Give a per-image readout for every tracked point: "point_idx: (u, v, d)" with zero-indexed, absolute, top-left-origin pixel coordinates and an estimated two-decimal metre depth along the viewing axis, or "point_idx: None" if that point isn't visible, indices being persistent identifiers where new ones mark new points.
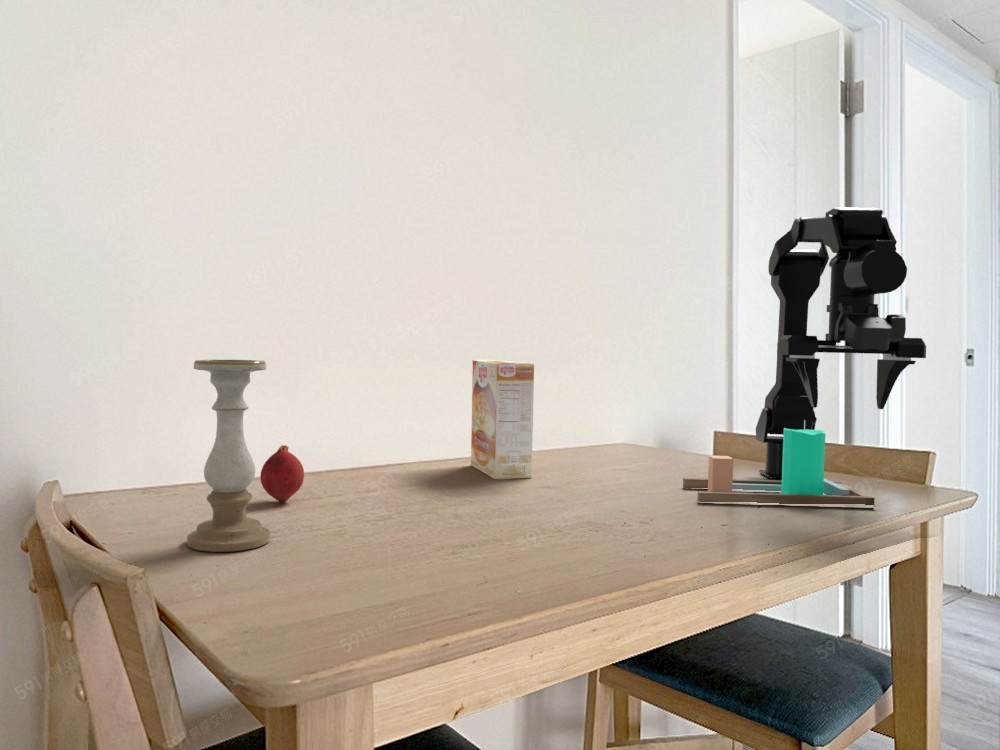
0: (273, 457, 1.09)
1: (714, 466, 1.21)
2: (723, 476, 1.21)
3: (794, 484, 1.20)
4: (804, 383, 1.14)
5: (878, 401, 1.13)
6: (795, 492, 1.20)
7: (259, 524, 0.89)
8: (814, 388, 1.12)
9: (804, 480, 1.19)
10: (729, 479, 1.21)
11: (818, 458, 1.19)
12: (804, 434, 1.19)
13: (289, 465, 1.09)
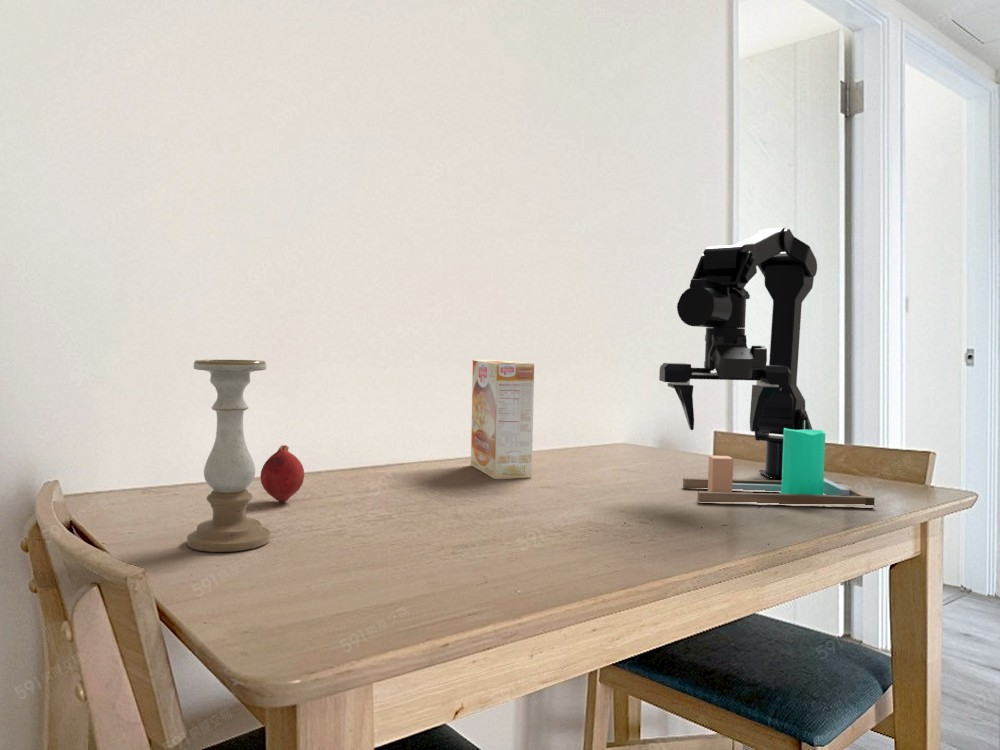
0: (273, 457, 1.09)
1: (714, 466, 1.21)
2: (723, 476, 1.21)
3: (794, 484, 1.20)
4: (683, 407, 1.23)
5: (750, 424, 1.22)
6: (795, 492, 1.20)
7: (259, 524, 0.89)
8: (690, 412, 1.21)
9: (804, 480, 1.19)
10: (729, 479, 1.21)
11: (818, 458, 1.19)
12: (804, 434, 1.19)
13: (289, 465, 1.09)
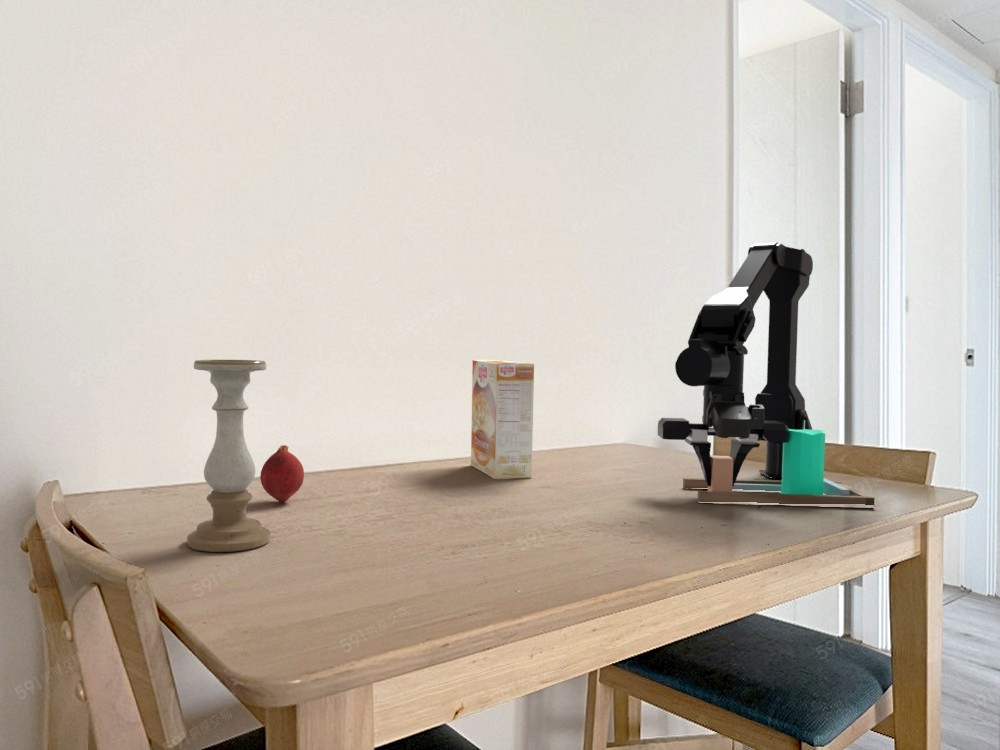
0: (273, 457, 1.09)
1: (714, 466, 1.21)
2: (723, 476, 1.21)
3: (794, 484, 1.20)
4: (700, 463, 1.23)
5: None
6: (795, 492, 1.20)
7: (259, 524, 0.89)
8: (708, 469, 1.21)
9: (804, 480, 1.19)
10: (729, 479, 1.21)
11: (818, 458, 1.19)
12: (804, 434, 1.19)
13: (289, 464, 1.09)
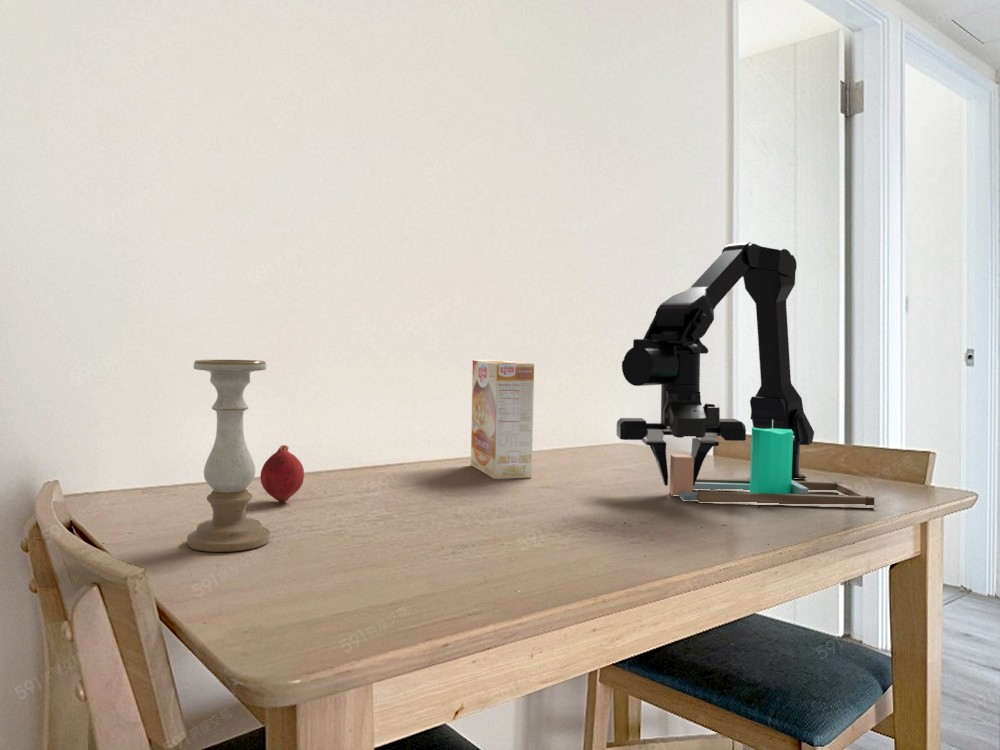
0: (273, 457, 1.09)
1: (675, 465, 1.21)
2: (683, 475, 1.21)
3: (763, 484, 1.20)
4: (657, 462, 1.24)
5: None
6: (764, 491, 1.19)
7: (259, 524, 0.89)
8: (664, 468, 1.22)
9: (773, 479, 1.19)
10: (690, 478, 1.21)
11: (786, 457, 1.19)
12: (773, 433, 1.19)
13: (289, 465, 1.09)
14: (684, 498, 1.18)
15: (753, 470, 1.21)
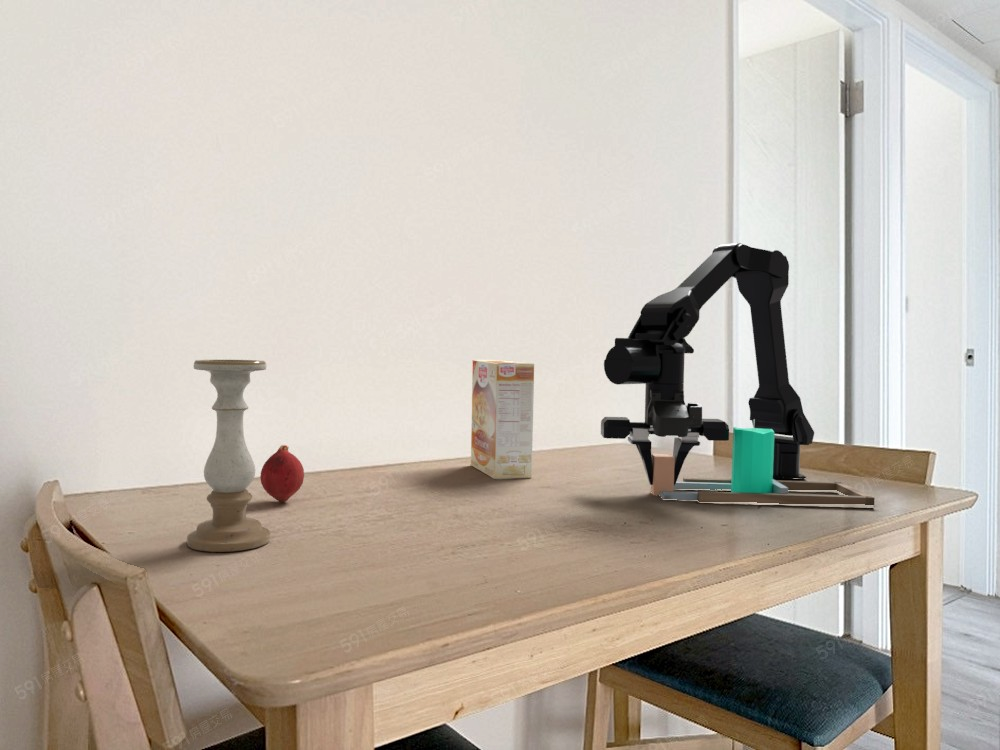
0: (273, 457, 1.09)
1: (655, 464, 1.21)
2: (664, 475, 1.21)
3: (745, 484, 1.19)
4: (643, 461, 1.24)
5: None
6: (746, 491, 1.19)
7: (259, 524, 0.89)
8: (649, 467, 1.22)
9: (755, 479, 1.19)
10: (670, 477, 1.21)
11: (768, 456, 1.19)
12: (755, 433, 1.19)
13: (289, 465, 1.09)
14: (664, 497, 1.18)
15: (735, 470, 1.21)
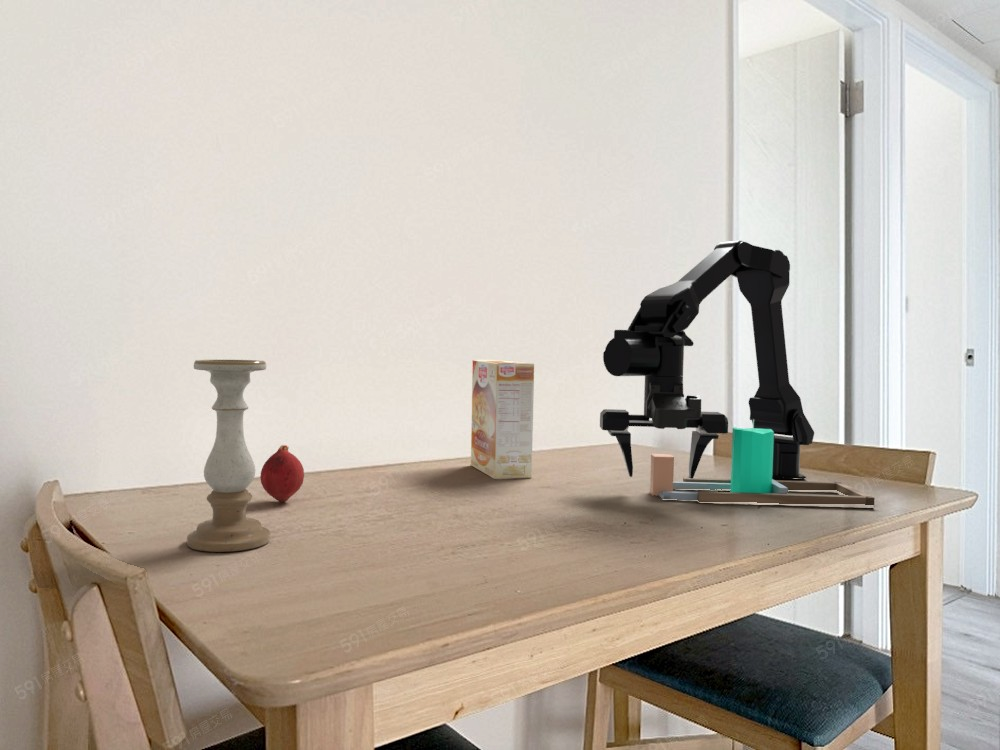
0: (273, 457, 1.09)
1: (655, 464, 1.21)
2: (663, 475, 1.21)
3: (745, 484, 1.19)
4: None
5: (689, 471, 1.23)
6: (746, 491, 1.19)
7: (259, 524, 0.89)
8: (629, 459, 1.22)
9: (755, 479, 1.19)
10: (670, 477, 1.21)
11: (768, 456, 1.19)
12: (755, 433, 1.19)
13: (289, 465, 1.09)
14: (664, 497, 1.18)
15: (734, 470, 1.21)
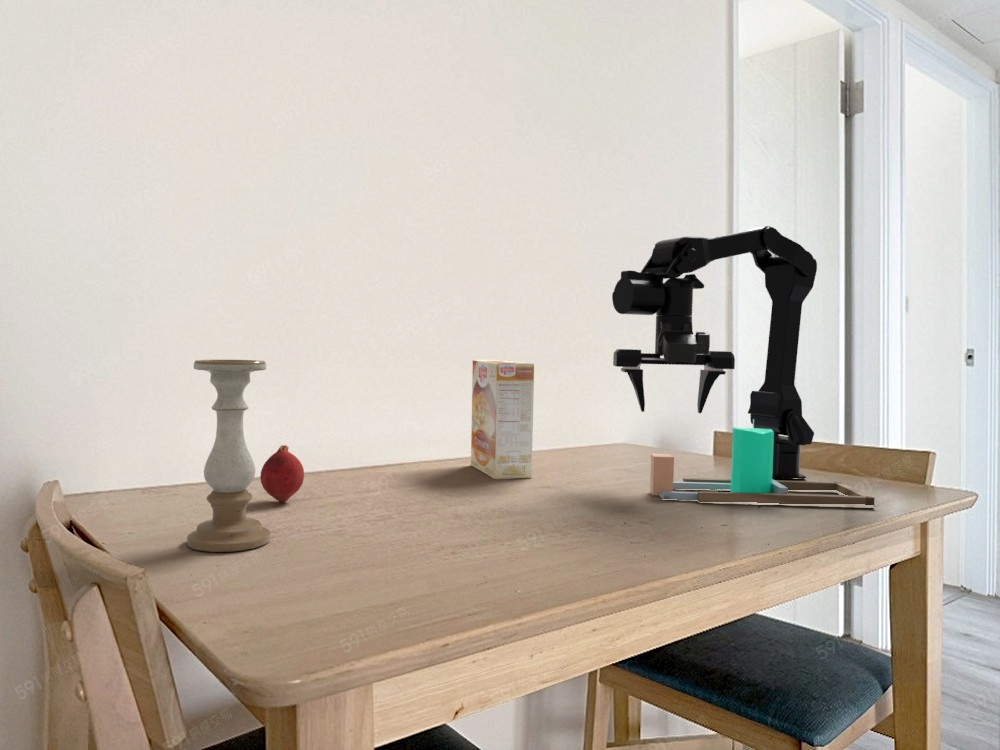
0: (273, 457, 1.09)
1: (655, 464, 1.21)
2: (663, 475, 1.21)
3: (745, 484, 1.19)
4: (635, 390, 1.31)
5: (698, 406, 1.30)
6: (746, 491, 1.19)
7: (259, 524, 0.89)
8: (641, 395, 1.29)
9: (755, 479, 1.19)
10: (670, 477, 1.21)
11: (768, 456, 1.19)
12: (755, 433, 1.19)
13: (289, 464, 1.09)
14: (664, 497, 1.18)
15: (734, 470, 1.21)
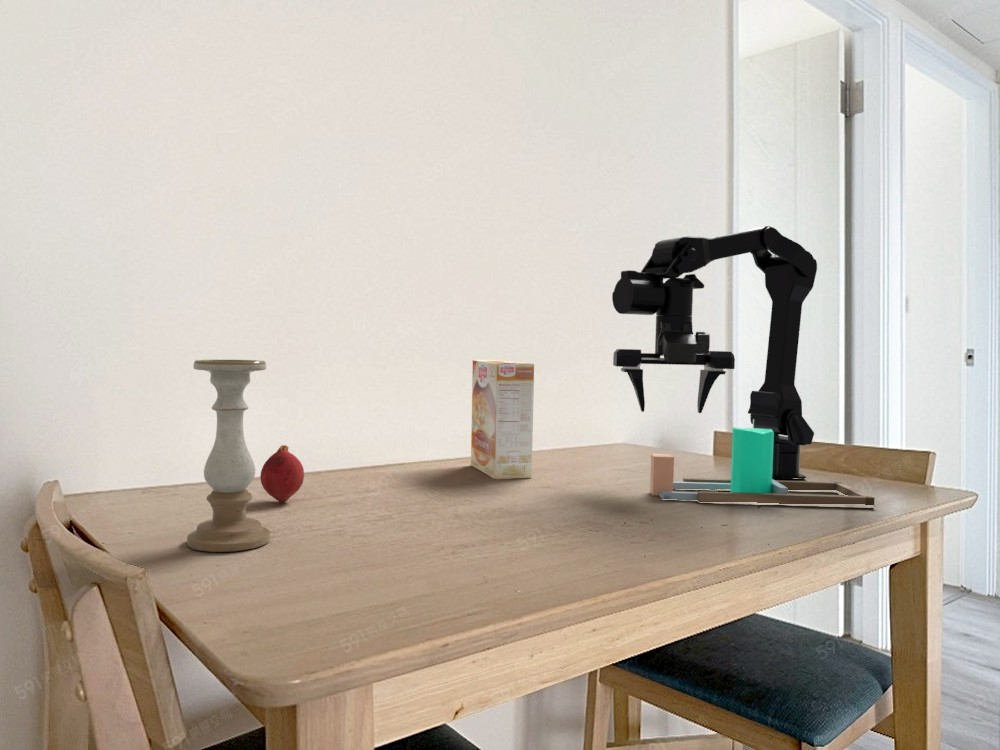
0: (273, 457, 1.09)
1: (655, 464, 1.21)
2: (663, 475, 1.21)
3: (745, 484, 1.19)
4: (635, 390, 1.31)
5: (698, 406, 1.30)
6: (746, 491, 1.19)
7: (259, 524, 0.89)
8: (641, 395, 1.29)
9: (755, 479, 1.19)
10: (670, 477, 1.21)
11: (768, 456, 1.19)
12: (755, 433, 1.19)
13: (289, 465, 1.09)
14: (664, 497, 1.18)
15: (734, 470, 1.21)
